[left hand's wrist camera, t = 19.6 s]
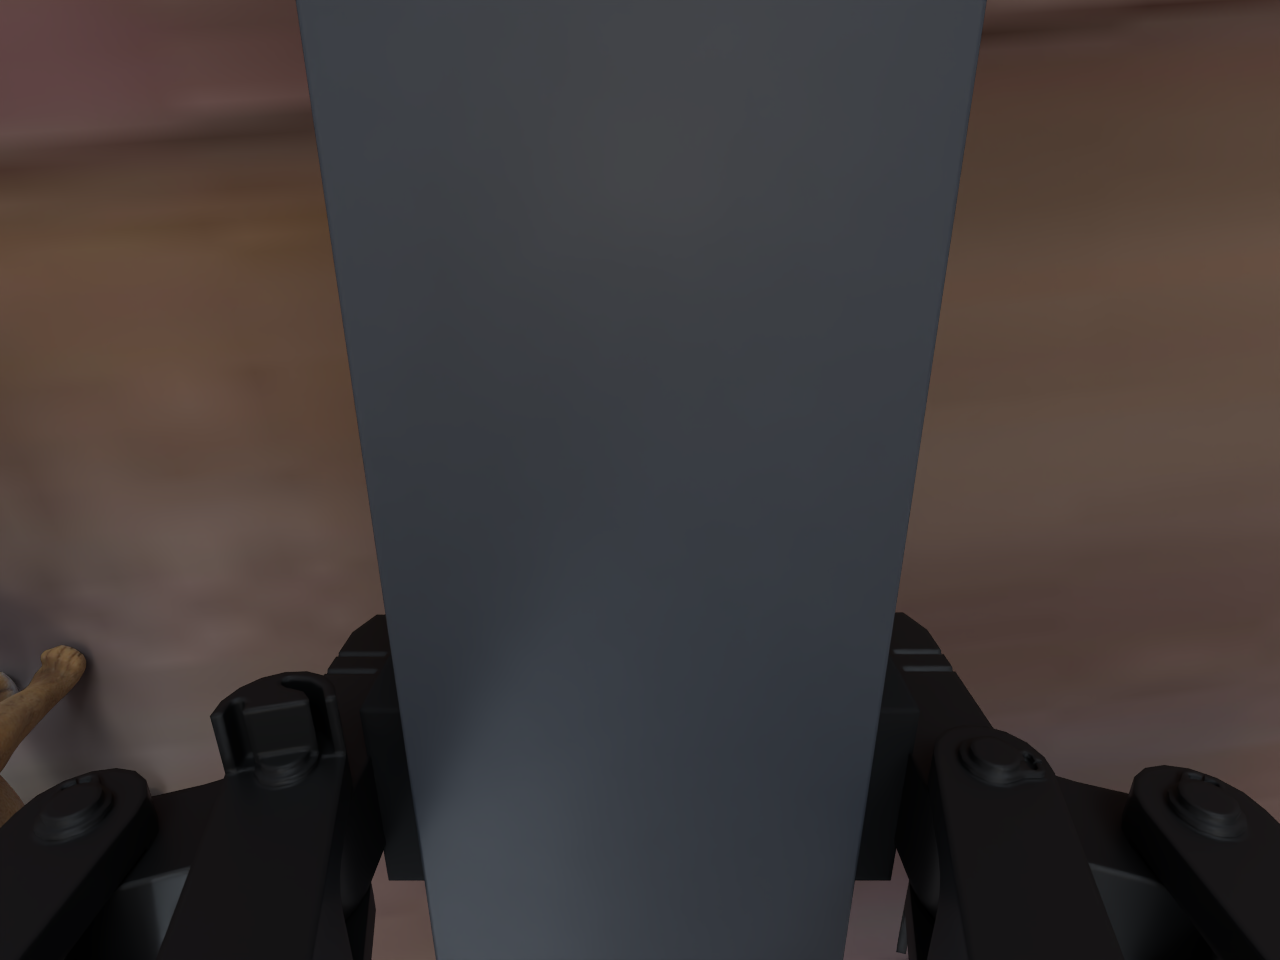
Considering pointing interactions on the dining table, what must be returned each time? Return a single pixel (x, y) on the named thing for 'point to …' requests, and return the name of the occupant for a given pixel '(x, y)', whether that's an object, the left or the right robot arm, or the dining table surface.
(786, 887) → the post
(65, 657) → the lion figurine
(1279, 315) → the dining table surface
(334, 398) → the dining table surface
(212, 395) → the dining table surface
